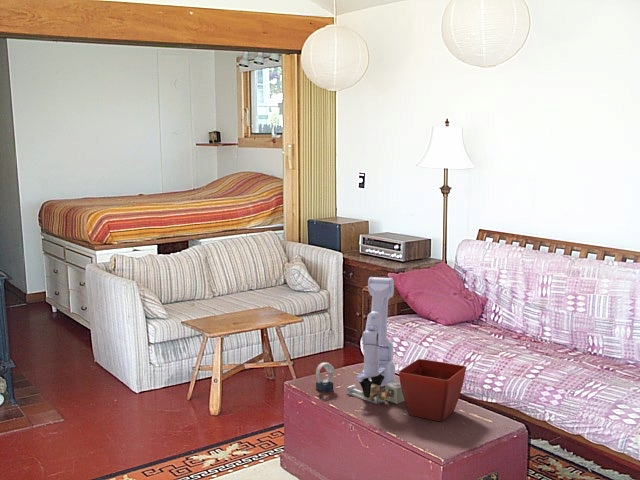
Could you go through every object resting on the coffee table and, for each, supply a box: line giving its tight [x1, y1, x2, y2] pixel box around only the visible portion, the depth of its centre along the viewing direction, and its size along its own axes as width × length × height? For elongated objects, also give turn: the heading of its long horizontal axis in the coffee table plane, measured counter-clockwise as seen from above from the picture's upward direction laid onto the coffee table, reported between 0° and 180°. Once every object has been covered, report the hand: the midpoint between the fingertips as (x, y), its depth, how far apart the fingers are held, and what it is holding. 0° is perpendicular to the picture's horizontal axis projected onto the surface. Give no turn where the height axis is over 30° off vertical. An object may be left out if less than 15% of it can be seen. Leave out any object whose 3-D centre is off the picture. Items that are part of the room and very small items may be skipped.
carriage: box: [361, 383, 381, 400], centre depth 281 cm, size 4×5×4 cm
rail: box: [346, 384, 385, 405], centre depth 283 cm, size 4×16×3 cm, turn 43°
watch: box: [315, 361, 336, 394], centre depth 292 cm, size 6×8×11 cm
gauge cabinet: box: [384, 380, 405, 405], centre depth 281 cm, size 6×6×6 cm
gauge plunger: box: [379, 390, 394, 401], centre depth 278 cm, size 7×3×3 cm, turn 133°
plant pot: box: [398, 358, 467, 422], centre depth 267 cm, size 19×19×17 cm
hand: (371, 395), depth 281 cm, fingers closed on carriage, 4 cm apart
